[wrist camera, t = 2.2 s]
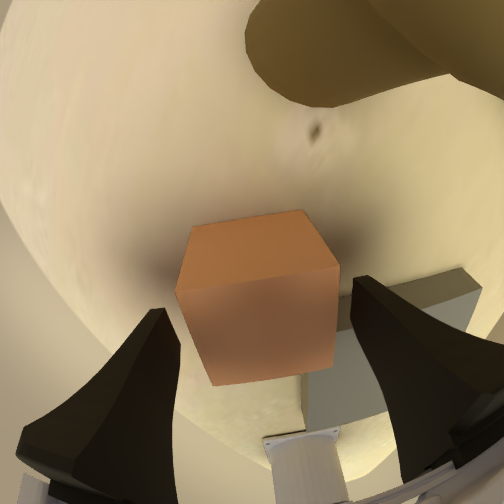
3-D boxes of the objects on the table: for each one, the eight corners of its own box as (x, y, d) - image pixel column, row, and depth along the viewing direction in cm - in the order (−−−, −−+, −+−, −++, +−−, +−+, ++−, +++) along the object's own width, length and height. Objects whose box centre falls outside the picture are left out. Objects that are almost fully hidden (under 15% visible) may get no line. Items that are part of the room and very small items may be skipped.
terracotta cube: (306, 295, 15) (332, 367, 10) (215, 310, 15) (212, 386, 10) (302, 209, 12) (340, 265, 8) (193, 226, 12) (174, 291, 8)
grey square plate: (419, 369, 21) (432, 392, 18) (300, 404, 21) (306, 433, 18) (457, 263, 15) (482, 287, 13) (296, 300, 15) (308, 338, 13)
